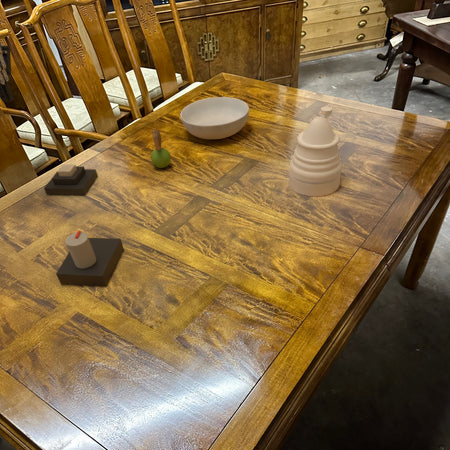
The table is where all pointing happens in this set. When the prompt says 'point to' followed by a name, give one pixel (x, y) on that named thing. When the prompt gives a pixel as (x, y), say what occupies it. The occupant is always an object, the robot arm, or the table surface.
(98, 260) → the panel
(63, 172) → the key
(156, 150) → the green ball with handle
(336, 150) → the honey pot
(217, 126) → the serving bowl
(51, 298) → the table surface
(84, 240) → the volume knob
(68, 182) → the key block
